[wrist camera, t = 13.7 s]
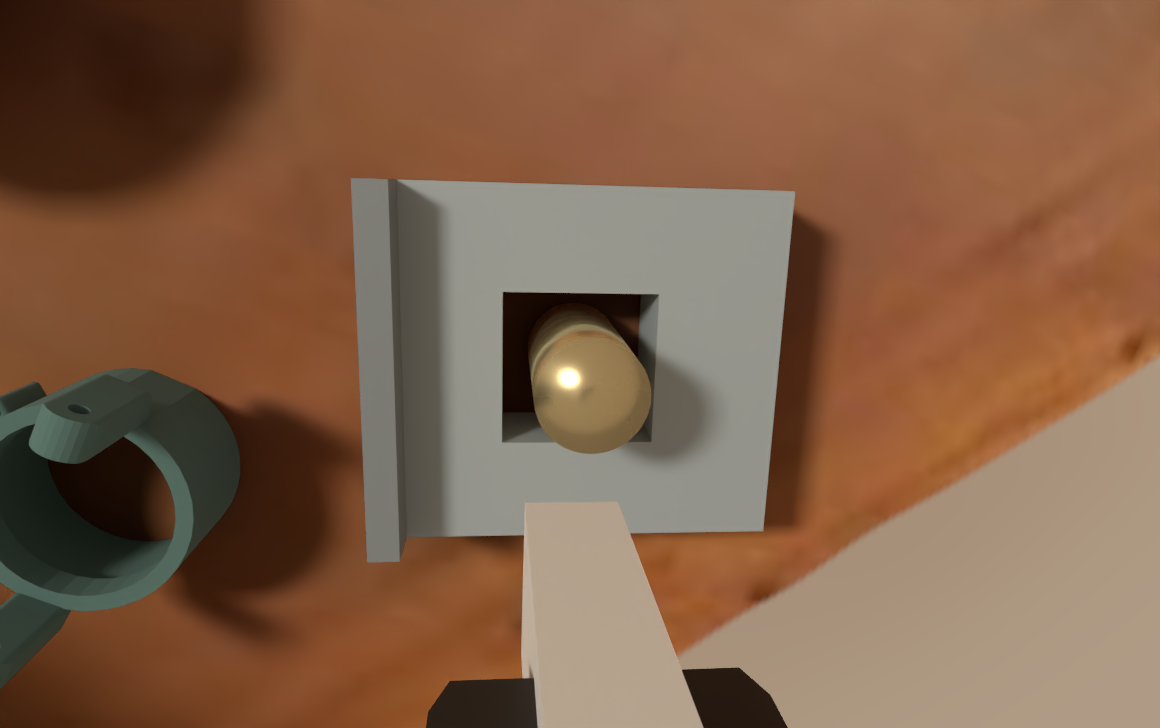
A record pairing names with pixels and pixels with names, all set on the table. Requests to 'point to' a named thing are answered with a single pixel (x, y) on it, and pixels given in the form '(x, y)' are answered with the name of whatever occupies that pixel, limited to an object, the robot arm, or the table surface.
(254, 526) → the table surface
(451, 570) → the table surface
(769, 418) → the jig
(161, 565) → the bracket
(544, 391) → the brass cylinder
